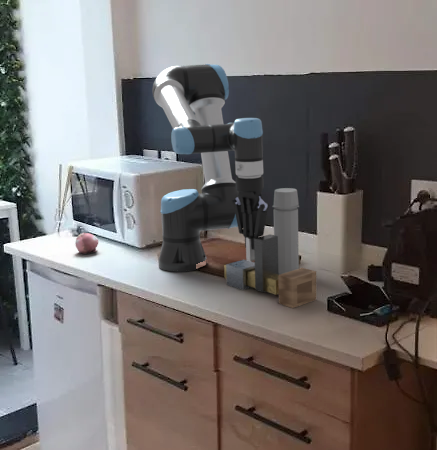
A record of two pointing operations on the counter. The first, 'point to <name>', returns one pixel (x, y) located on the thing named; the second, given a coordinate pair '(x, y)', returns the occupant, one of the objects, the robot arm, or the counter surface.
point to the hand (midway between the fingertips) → (251, 259)
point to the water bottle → (286, 228)
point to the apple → (86, 243)
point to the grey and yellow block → (264, 265)
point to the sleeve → (238, 273)
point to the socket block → (297, 287)
